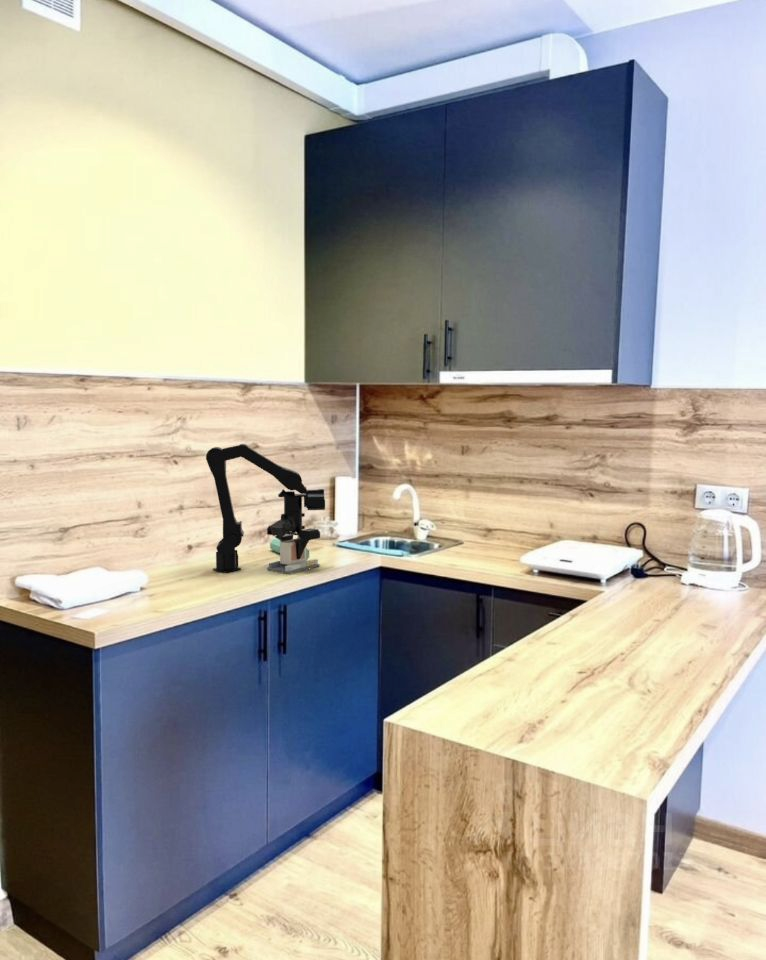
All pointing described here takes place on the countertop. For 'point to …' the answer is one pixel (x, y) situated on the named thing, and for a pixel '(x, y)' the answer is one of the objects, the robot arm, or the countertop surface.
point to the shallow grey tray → (293, 566)
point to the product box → (290, 553)
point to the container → (276, 547)
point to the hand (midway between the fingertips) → (293, 558)
